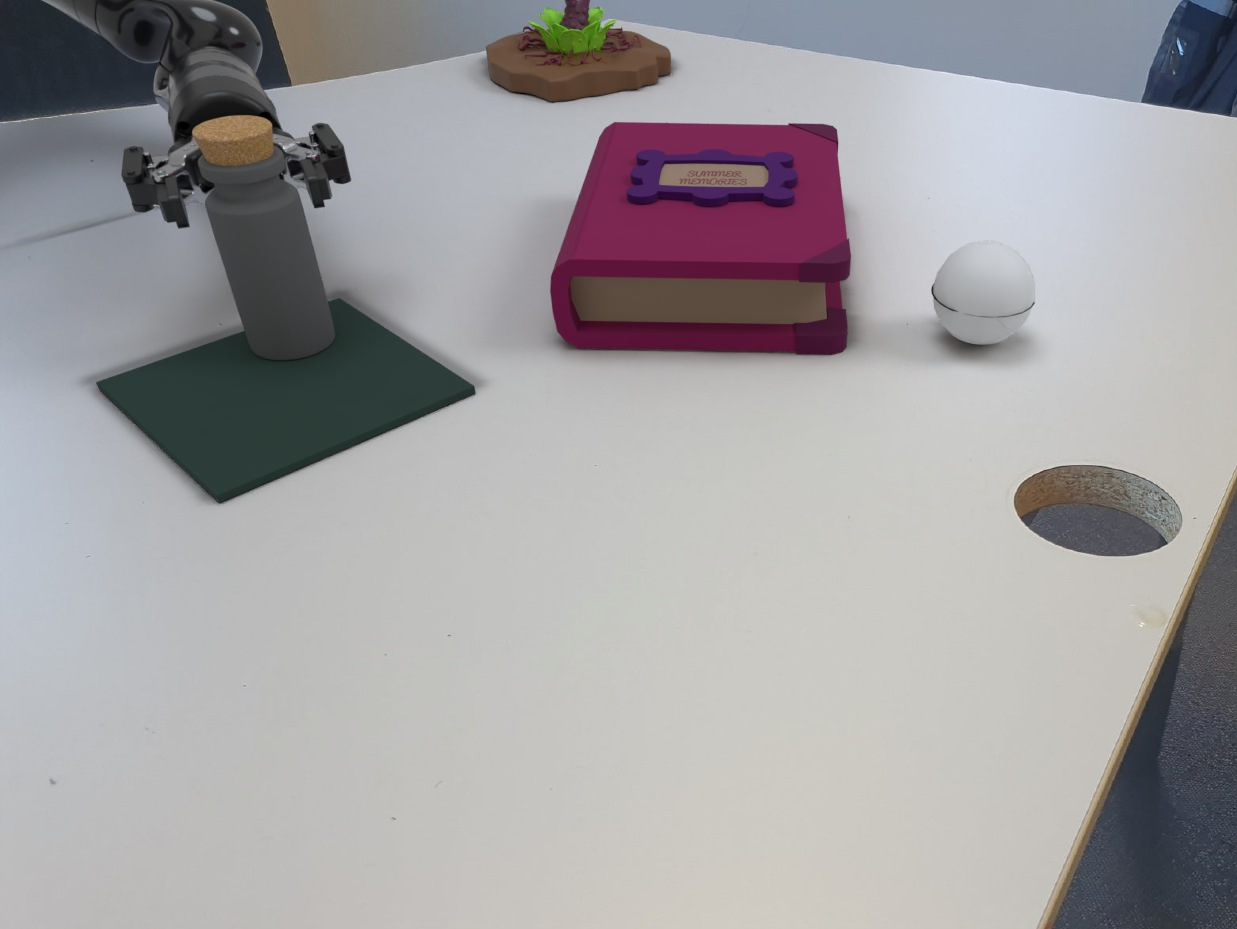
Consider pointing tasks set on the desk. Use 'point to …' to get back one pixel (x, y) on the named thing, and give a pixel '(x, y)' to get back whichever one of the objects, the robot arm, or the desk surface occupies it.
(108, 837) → the desk surface
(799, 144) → the book
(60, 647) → the desk surface
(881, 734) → the desk surface
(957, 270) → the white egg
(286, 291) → the bottle
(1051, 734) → the desk surface
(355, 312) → the mat
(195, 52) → the robot arm
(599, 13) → the plant
